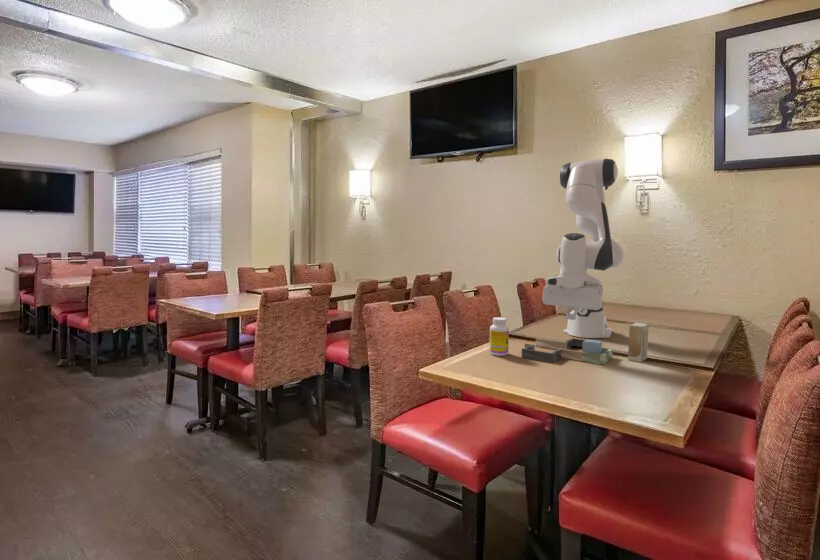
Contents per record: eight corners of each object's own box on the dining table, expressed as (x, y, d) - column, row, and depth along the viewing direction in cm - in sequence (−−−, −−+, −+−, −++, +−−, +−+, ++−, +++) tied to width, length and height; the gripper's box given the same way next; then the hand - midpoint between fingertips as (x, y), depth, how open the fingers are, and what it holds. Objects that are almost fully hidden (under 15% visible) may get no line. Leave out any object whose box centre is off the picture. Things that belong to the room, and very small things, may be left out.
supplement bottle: (508, 356, 167) (509, 320, 166) (489, 355, 169) (489, 319, 167) (508, 352, 174) (509, 317, 172) (489, 351, 175) (490, 316, 174)
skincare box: (634, 356, 168) (636, 322, 166) (647, 359, 164) (649, 323, 163) (627, 360, 163) (628, 324, 162) (640, 362, 160) (642, 326, 159)
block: (586, 356, 169) (587, 339, 168) (601, 358, 166) (601, 341, 165) (581, 359, 165) (582, 342, 164) (596, 361, 162) (597, 344, 161)
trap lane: (544, 341, 189) (545, 334, 189) (618, 352, 173) (618, 344, 172) (514, 356, 168) (515, 347, 168) (595, 370, 151) (596, 361, 151)
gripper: (605, 281, 163) (604, 321, 166) (547, 277, 176) (546, 313, 178) (600, 284, 159) (598, 325, 161) (541, 279, 171) (540, 317, 173)
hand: (570, 319), depth 169 cm, fingers closed
